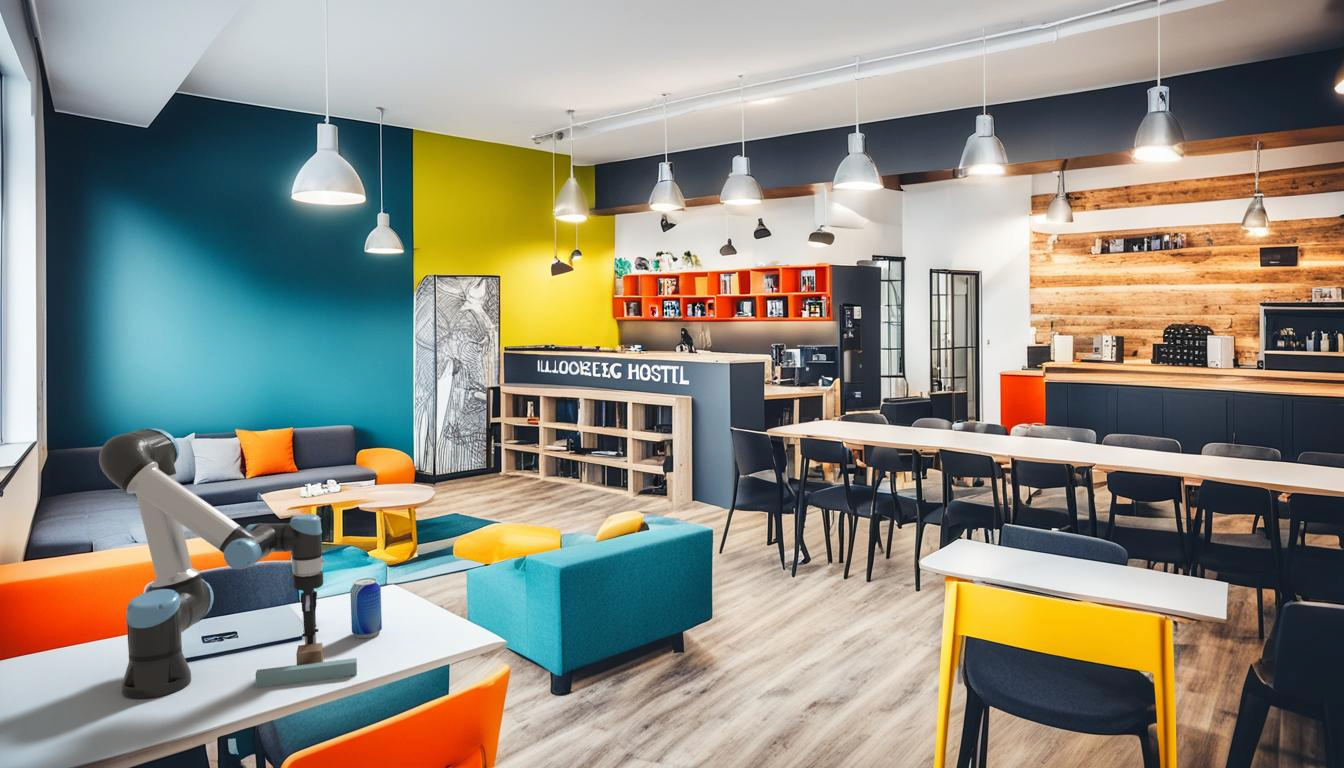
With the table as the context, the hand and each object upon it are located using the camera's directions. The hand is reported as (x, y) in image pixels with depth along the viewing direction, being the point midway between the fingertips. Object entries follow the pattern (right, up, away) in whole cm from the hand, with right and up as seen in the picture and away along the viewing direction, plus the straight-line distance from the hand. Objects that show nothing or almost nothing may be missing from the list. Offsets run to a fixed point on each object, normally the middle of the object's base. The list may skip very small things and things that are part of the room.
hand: (311, 657), depth 237 cm
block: (+2, -2, -5) cm, 5 cm away
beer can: (+8, 0, +22) cm, 23 cm away
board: (+3, -2, -11) cm, 11 cm away
